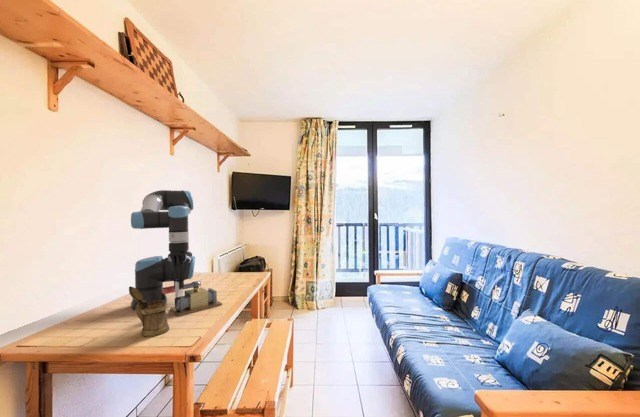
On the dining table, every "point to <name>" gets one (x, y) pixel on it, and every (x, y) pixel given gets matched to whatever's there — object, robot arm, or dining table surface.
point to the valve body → (195, 301)
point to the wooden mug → (150, 314)
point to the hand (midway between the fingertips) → (179, 296)
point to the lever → (186, 286)
